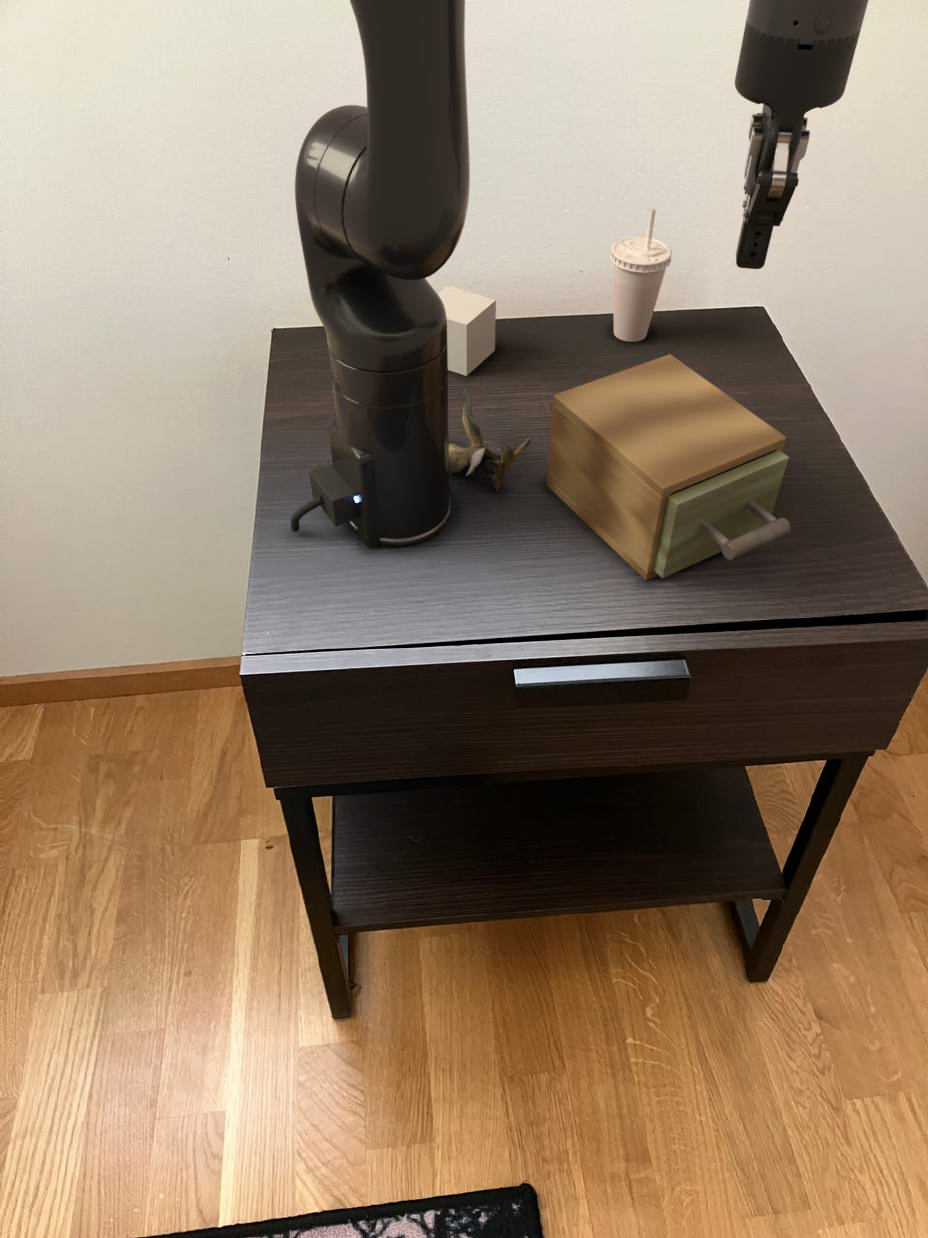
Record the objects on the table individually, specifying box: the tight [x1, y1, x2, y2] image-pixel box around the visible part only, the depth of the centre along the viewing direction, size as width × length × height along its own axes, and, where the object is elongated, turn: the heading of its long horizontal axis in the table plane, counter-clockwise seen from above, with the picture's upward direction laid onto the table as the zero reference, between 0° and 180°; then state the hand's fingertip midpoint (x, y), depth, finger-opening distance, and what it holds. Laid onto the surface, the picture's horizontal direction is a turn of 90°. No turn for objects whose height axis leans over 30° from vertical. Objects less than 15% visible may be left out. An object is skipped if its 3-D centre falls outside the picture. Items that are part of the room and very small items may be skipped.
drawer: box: [654, 450, 791, 579], centre depth 81 cm, size 18×12×8 cm, turn 31°
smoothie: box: [609, 207, 673, 343], centre depth 103 cm, size 6×6×14 cm
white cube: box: [437, 285, 497, 377], centre depth 103 cm, size 6×6×6 cm
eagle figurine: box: [449, 389, 533, 492], centre depth 89 cm, size 8×7×9 cm
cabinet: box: [546, 353, 787, 581], centre depth 84 cm, size 15×13×10 cm
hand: (748, 264), depth 77 cm, fingers closed
